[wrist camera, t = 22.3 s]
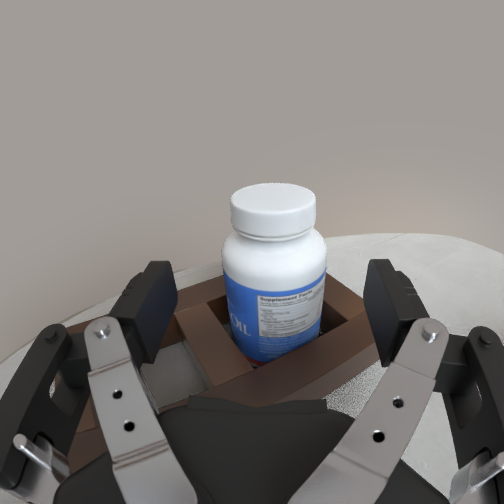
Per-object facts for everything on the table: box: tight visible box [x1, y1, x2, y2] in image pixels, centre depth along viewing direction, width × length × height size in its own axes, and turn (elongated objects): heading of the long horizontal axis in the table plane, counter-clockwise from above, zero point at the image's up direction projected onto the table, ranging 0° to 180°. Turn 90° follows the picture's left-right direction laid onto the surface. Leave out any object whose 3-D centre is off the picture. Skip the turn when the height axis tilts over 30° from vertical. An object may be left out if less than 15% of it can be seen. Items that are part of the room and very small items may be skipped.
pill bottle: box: [222, 183, 327, 368], centre depth 16 cm, size 6×5×10 cm
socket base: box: [55, 273, 380, 474], centre depth 17 cm, size 11×19×2 cm, turn 119°
